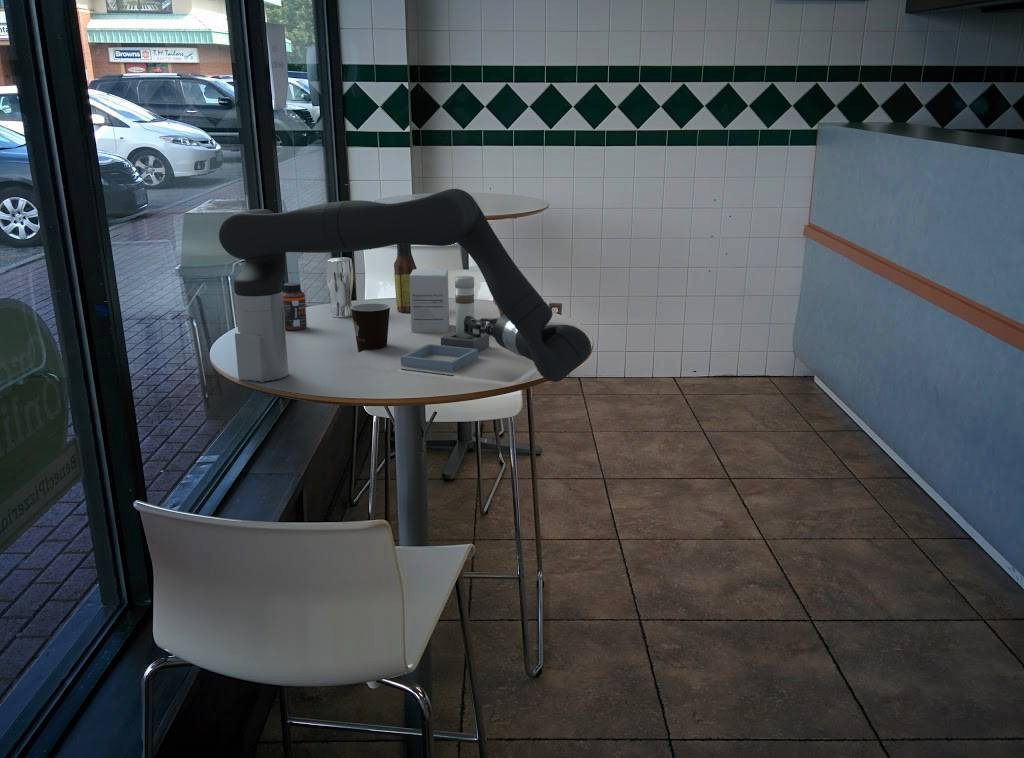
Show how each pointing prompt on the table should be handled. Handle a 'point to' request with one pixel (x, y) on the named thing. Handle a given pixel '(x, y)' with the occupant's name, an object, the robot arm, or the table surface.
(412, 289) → the supplement box
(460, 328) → the cylinder
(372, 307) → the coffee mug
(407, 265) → the sauce bottle
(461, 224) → the robot arm
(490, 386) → the table surface
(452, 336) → the box
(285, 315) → the supplement bottle
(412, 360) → the parts tray
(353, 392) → the table surface
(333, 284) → the beer glass
